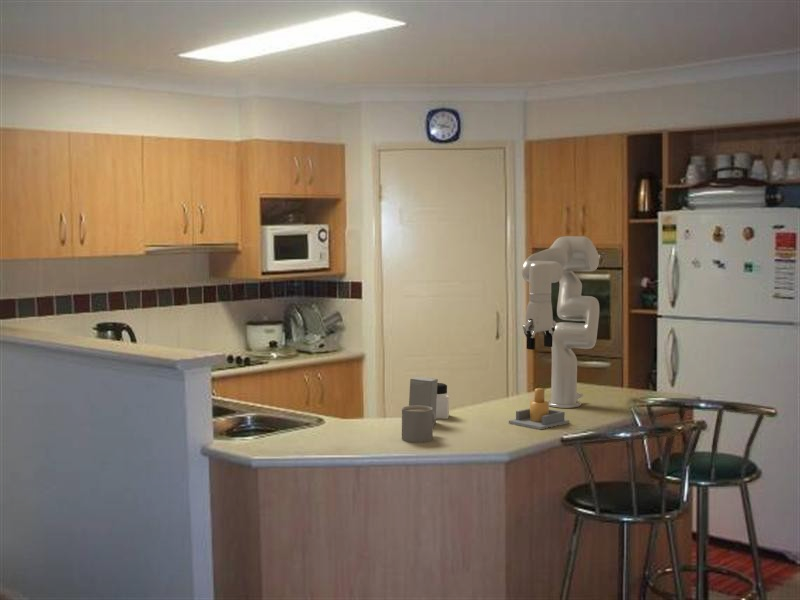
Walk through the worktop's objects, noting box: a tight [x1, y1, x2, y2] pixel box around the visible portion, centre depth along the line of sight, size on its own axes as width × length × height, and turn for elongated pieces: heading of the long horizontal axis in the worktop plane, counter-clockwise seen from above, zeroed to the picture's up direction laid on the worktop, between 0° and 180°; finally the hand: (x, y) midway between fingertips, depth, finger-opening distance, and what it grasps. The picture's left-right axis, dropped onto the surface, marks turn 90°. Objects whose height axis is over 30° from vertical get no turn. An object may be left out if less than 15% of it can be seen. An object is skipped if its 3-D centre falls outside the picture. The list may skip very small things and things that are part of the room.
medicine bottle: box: [436, 382, 450, 420], centre depth 358 cm, size 7×7×12 cm
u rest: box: [508, 408, 570, 430], centre depth 347 cm, size 16×14×4 cm
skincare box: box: [408, 376, 439, 423], centre depth 347 cm, size 8×7×16 cm
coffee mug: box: [401, 405, 436, 443], centre depth 324 cm, size 13×10×10 cm
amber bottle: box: [529, 387, 550, 422], centre depth 347 cm, size 6×6×11 cm
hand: (539, 347), depth 346 cm, fingers open, 9 cm apart
